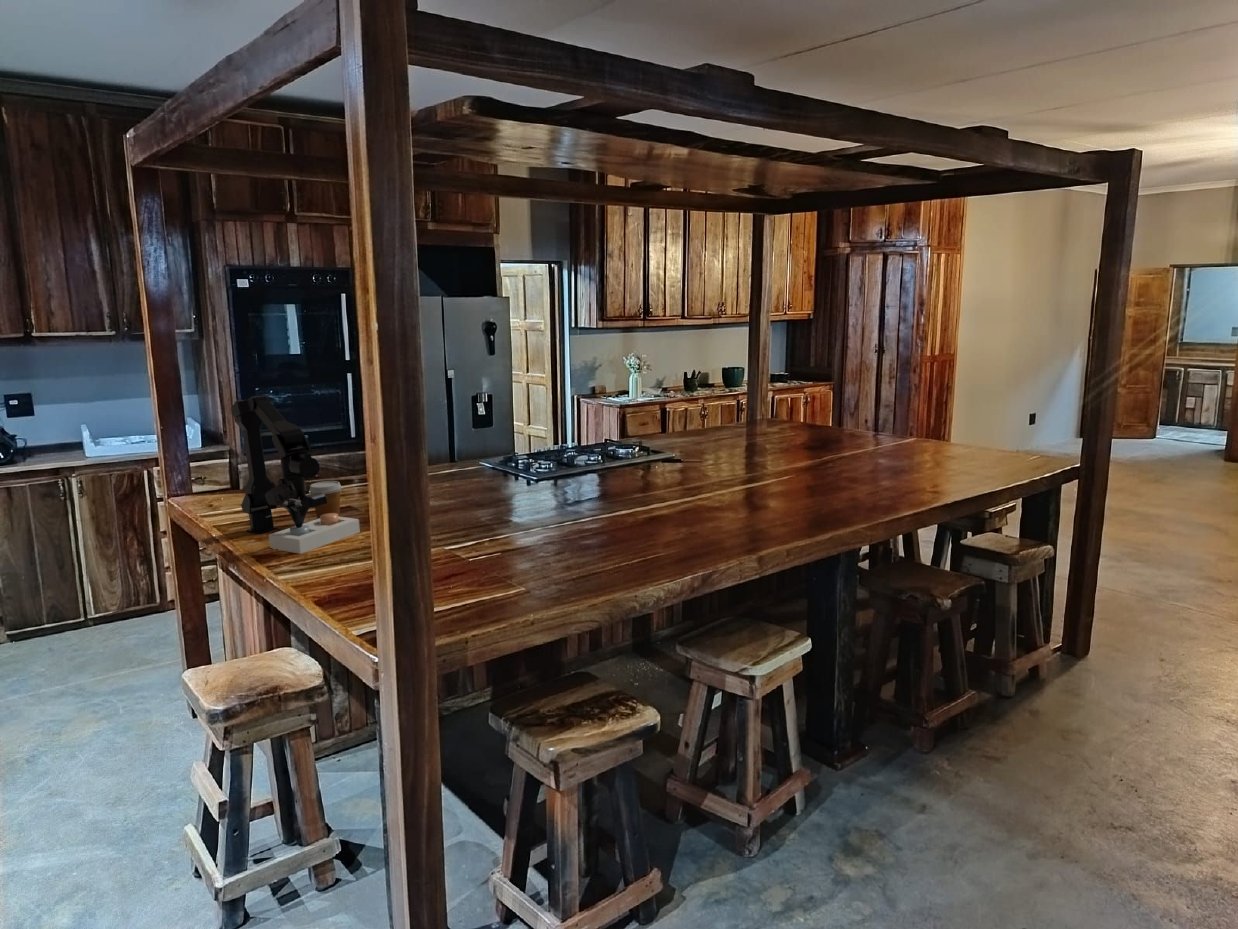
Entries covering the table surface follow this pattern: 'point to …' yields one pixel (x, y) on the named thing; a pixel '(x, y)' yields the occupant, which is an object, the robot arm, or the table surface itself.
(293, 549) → the button panel
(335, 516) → the terracotta button
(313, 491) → the disposable coffee cup
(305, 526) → the slate-grey button
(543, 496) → the table surface
